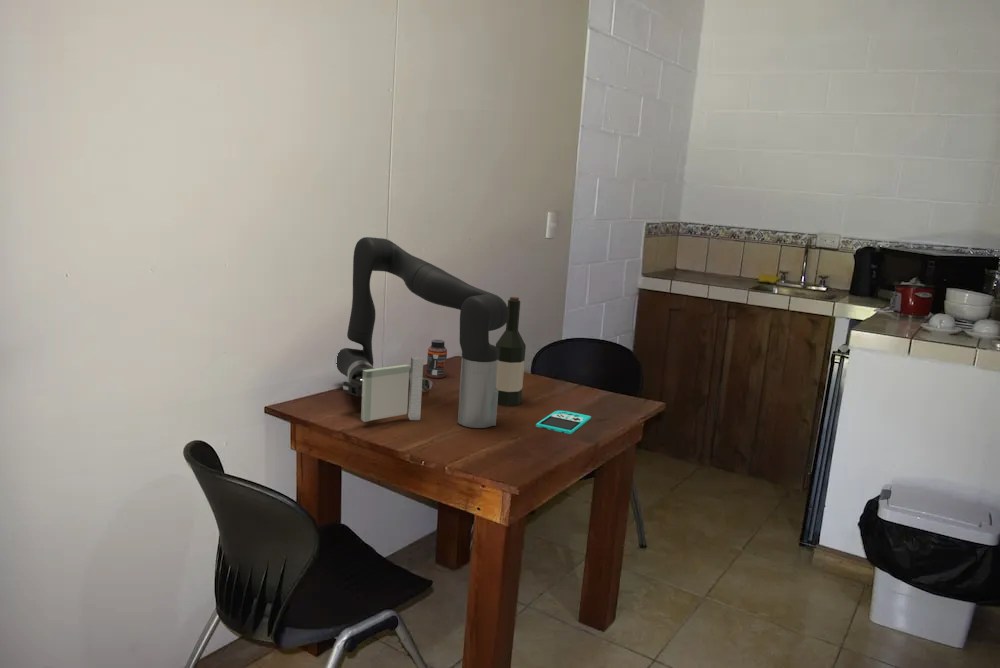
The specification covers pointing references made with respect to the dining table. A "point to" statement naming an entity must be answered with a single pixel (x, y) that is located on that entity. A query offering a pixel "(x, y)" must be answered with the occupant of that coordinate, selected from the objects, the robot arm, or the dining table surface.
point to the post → (415, 388)
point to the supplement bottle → (436, 359)
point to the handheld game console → (563, 421)
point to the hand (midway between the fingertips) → (372, 396)
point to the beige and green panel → (384, 392)
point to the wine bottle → (511, 359)
